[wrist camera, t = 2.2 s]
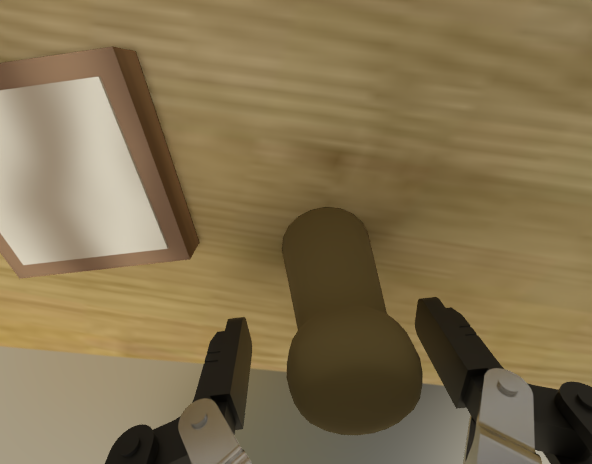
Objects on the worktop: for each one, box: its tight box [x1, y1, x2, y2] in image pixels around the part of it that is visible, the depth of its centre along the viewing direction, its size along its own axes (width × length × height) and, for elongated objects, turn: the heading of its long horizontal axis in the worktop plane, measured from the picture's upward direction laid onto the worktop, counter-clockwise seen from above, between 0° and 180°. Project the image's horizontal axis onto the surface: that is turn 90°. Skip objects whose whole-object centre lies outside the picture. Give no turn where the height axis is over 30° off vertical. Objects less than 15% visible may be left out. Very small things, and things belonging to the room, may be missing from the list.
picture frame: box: [0, 47, 199, 278], centre depth 15 cm, size 11×11×2 cm
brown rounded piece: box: [282, 207, 422, 435], centre depth 14 cm, size 6×6×11 cm
